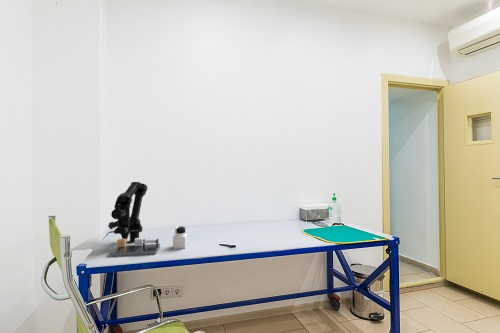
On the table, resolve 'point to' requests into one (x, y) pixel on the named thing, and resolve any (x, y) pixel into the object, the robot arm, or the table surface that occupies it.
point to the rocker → (149, 241)
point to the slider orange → (121, 242)
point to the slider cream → (138, 241)
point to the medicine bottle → (179, 238)
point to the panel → (136, 250)
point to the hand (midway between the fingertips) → (124, 242)
